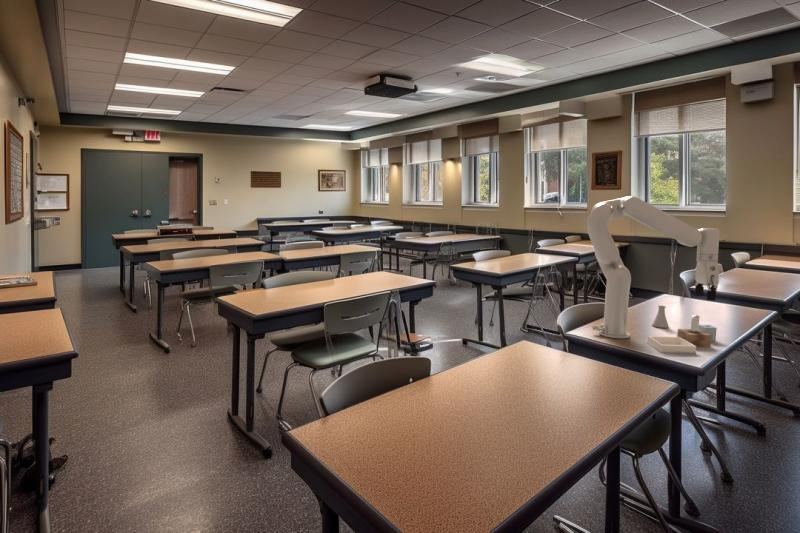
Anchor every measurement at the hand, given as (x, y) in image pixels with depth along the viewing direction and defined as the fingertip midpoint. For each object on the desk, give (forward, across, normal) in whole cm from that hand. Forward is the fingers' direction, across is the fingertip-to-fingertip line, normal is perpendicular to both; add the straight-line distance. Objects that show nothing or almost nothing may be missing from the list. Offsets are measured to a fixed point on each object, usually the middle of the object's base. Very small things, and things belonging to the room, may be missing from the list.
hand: (704, 297), depth 204 cm
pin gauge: (+19, -3, +5) cm, 20 cm away
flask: (+19, +25, +7) cm, 33 cm away
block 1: (+19, -3, +5) cm, 20 cm away
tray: (+19, -11, +18) cm, 28 cm away
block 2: (+20, +5, -4) cm, 20 cm away
